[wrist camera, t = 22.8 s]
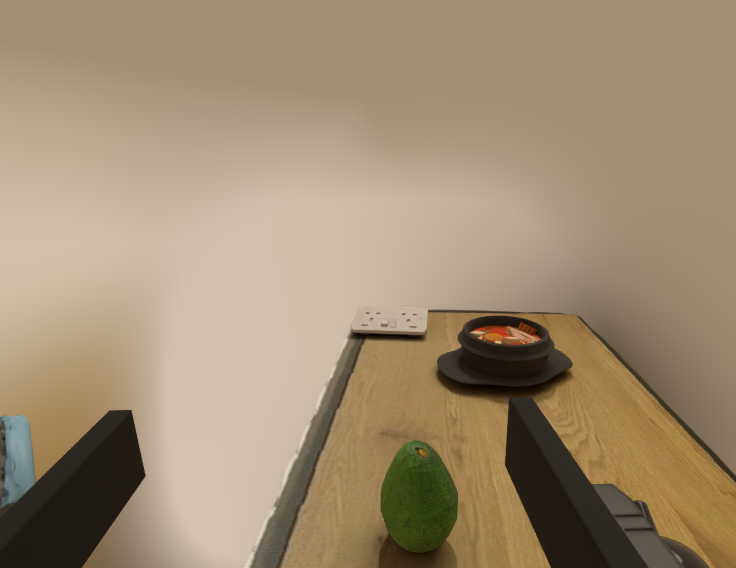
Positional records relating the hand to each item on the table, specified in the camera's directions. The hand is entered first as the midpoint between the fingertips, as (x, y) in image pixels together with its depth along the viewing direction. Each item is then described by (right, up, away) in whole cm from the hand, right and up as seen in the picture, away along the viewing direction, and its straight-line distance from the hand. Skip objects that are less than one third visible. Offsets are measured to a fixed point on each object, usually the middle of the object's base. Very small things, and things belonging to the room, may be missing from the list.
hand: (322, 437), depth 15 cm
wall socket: (+7, -6, +87) cm, 87 cm away
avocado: (+7, -22, +31) cm, 39 cm away
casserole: (+27, -11, +66) cm, 73 cm away
